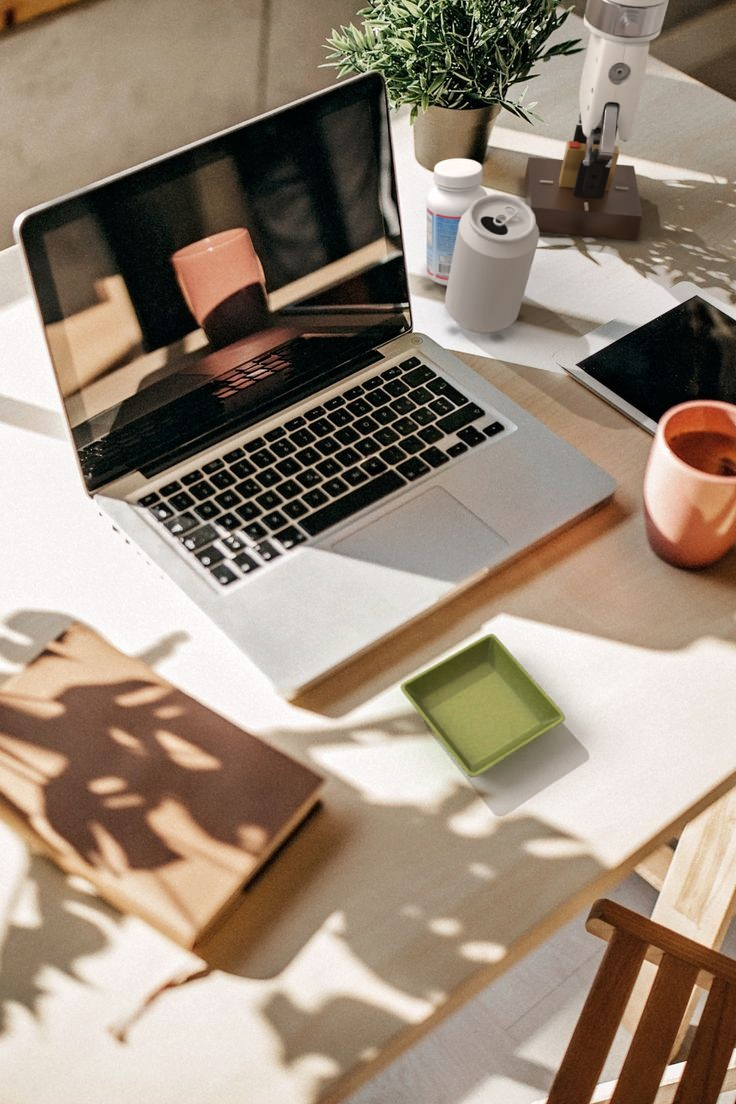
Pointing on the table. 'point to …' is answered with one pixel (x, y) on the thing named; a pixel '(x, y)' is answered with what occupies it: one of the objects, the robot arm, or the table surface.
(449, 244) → the pill bottle
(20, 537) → the table surface
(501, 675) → the green square dish
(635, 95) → the robot arm
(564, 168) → the tap handle
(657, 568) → the table surface
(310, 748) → the table surface
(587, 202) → the base
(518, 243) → the can
